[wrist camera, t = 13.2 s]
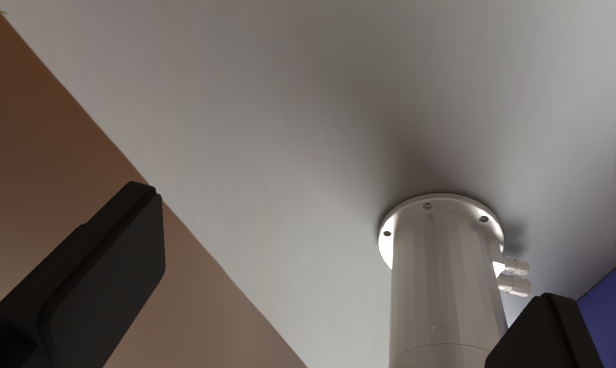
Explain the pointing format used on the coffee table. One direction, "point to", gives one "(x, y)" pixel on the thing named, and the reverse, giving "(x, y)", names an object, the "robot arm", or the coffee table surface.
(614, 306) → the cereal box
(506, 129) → the coffee table surface
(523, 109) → the coffee table surface
